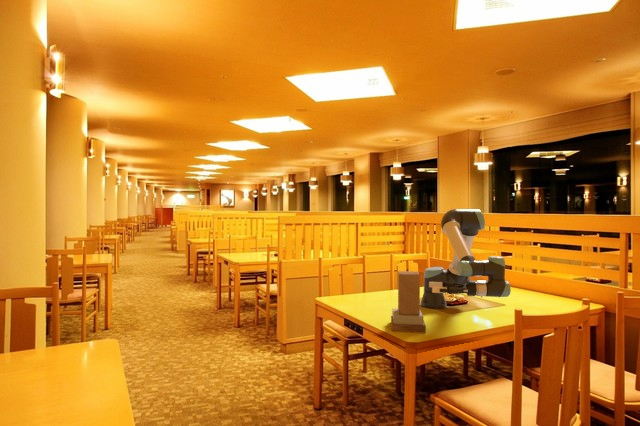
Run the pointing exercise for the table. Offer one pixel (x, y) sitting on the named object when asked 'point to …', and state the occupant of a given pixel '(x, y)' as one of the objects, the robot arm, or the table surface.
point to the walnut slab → (408, 327)
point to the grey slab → (406, 318)
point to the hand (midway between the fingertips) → (430, 287)
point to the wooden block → (408, 293)
